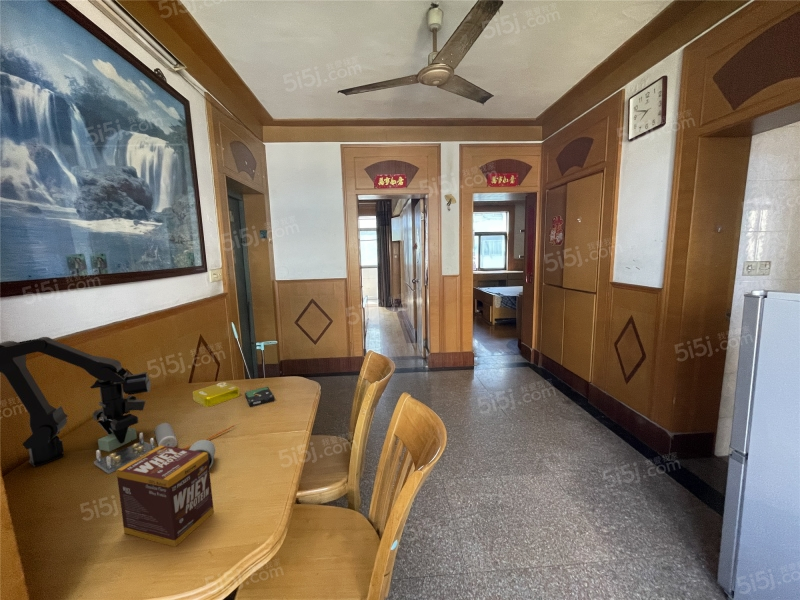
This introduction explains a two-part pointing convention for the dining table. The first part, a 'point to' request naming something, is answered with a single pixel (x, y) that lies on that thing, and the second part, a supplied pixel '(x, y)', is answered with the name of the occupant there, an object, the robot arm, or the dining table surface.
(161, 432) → the motor
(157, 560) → the dining table surface
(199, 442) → the ceramic mug
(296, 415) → the dining table surface
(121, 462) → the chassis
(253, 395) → the disk drive
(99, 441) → the green rectangular block
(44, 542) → the dining table surface
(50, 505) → the dining table surface
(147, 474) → the supplement box
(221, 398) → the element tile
